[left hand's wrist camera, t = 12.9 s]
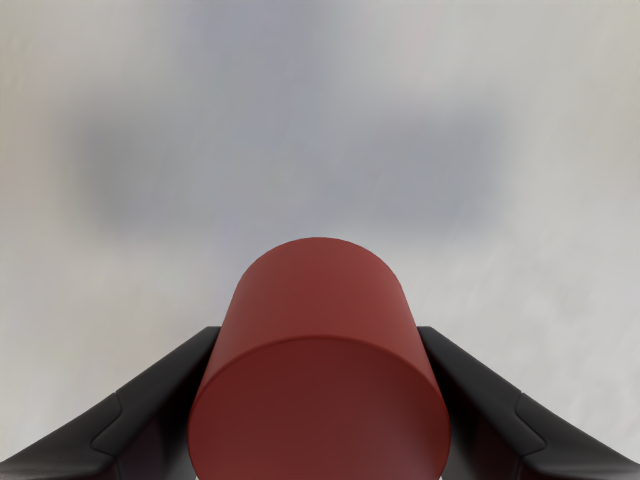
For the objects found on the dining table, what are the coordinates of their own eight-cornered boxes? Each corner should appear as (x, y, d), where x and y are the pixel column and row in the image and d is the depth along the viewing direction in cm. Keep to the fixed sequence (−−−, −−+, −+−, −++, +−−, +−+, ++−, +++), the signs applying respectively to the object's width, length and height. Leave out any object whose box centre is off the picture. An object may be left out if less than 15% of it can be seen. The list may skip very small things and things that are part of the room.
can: (416, 374, 13) (462, 522, 9) (255, 399, 14) (225, 553, 9) (394, 221, 12) (439, 313, 7) (210, 254, 12) (148, 361, 8)
